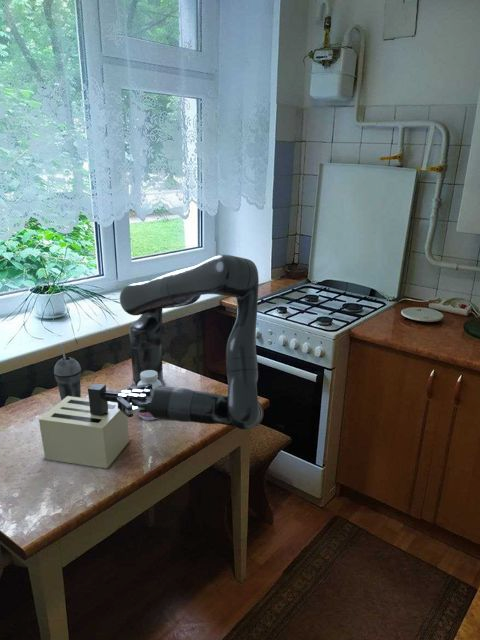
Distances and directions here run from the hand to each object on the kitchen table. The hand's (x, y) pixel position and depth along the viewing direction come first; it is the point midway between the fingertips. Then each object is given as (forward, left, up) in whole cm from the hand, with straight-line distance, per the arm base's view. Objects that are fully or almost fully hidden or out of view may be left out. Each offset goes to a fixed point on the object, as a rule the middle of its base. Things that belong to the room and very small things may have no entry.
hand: (105, 395), depth 115 cm
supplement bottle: (-20, +2, -16) cm, 26 cm away
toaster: (0, -6, -16) cm, 17 cm away
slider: (0, -2, -5) cm, 5 cm away
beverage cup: (-18, -21, -16) cm, 32 cm away
